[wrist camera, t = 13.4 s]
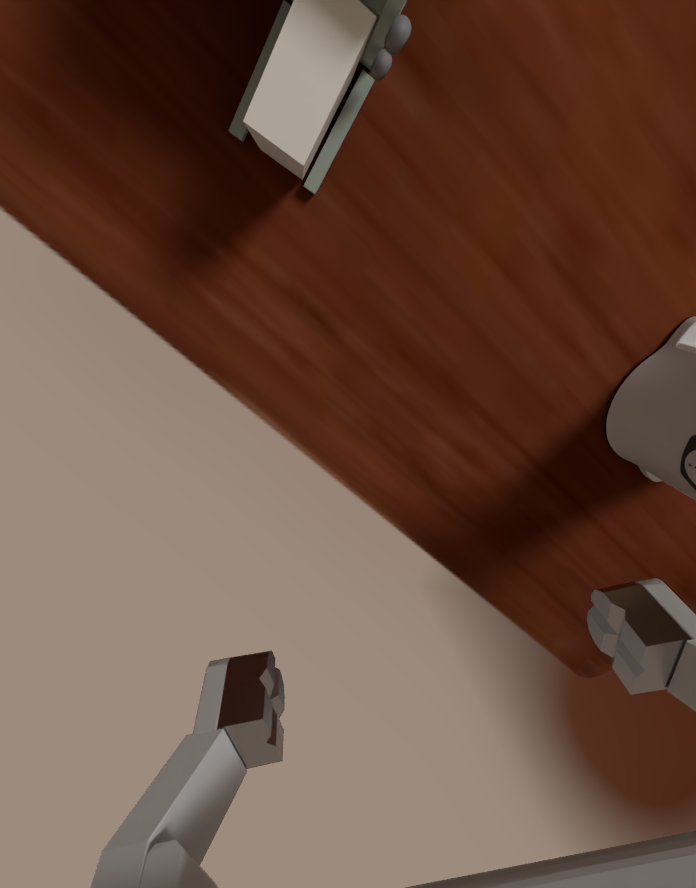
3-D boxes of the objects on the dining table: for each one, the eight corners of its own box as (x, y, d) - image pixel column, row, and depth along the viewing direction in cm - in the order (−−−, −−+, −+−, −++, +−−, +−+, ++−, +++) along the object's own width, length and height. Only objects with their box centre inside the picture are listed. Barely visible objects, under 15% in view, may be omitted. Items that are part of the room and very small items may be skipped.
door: (302, 180, 32) (303, 165, 22) (253, 144, 31) (232, 113, 21) (351, 80, 29) (376, 16, 20) (300, 37, 28) (301, -54, 18)
